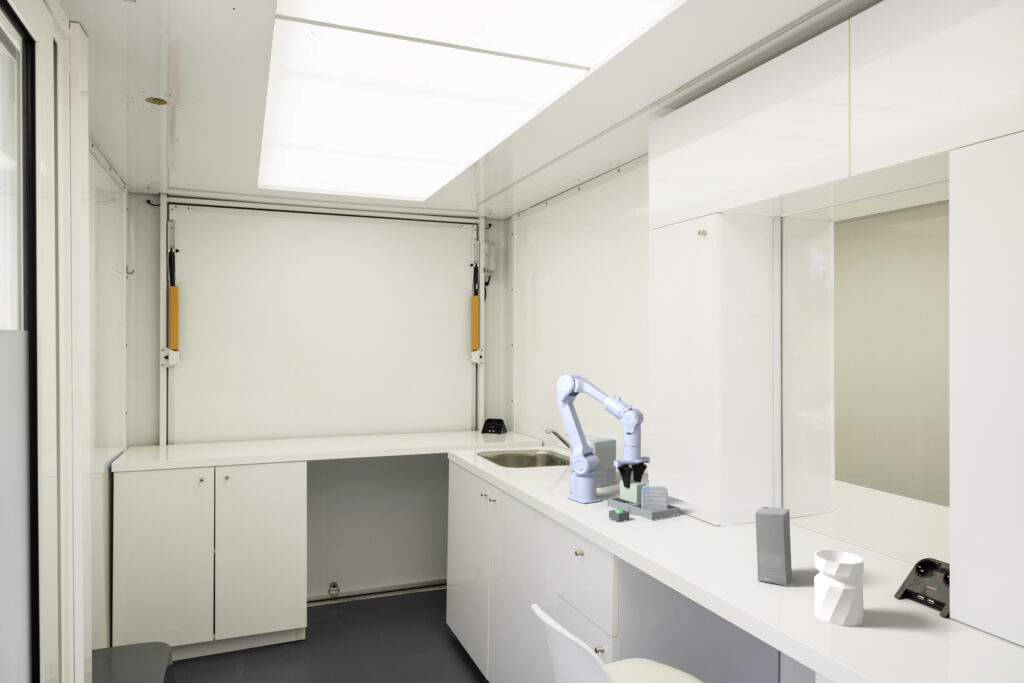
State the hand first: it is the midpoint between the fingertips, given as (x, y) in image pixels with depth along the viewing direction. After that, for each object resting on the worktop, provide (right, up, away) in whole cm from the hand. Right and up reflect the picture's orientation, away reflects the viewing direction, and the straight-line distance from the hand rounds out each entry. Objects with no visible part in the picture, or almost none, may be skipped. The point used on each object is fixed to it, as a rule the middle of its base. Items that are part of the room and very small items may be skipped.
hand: (631, 486), depth 212 cm
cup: (+3, -7, +19) cm, 21 cm away
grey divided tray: (+3, -7, -4) cm, 9 cm away
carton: (0, -5, 0) cm, 5 cm away
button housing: (-7, -7, -15) cm, 18 cm away
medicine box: (+6, -7, -9) cm, 13 cm away
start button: (-7, -6, -15) cm, 18 cm away
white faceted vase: (+25, -7, -86) cm, 90 cm away
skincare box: (+21, -7, -65) cm, 68 cm away
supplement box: (-8, -8, +37) cm, 38 cm away
